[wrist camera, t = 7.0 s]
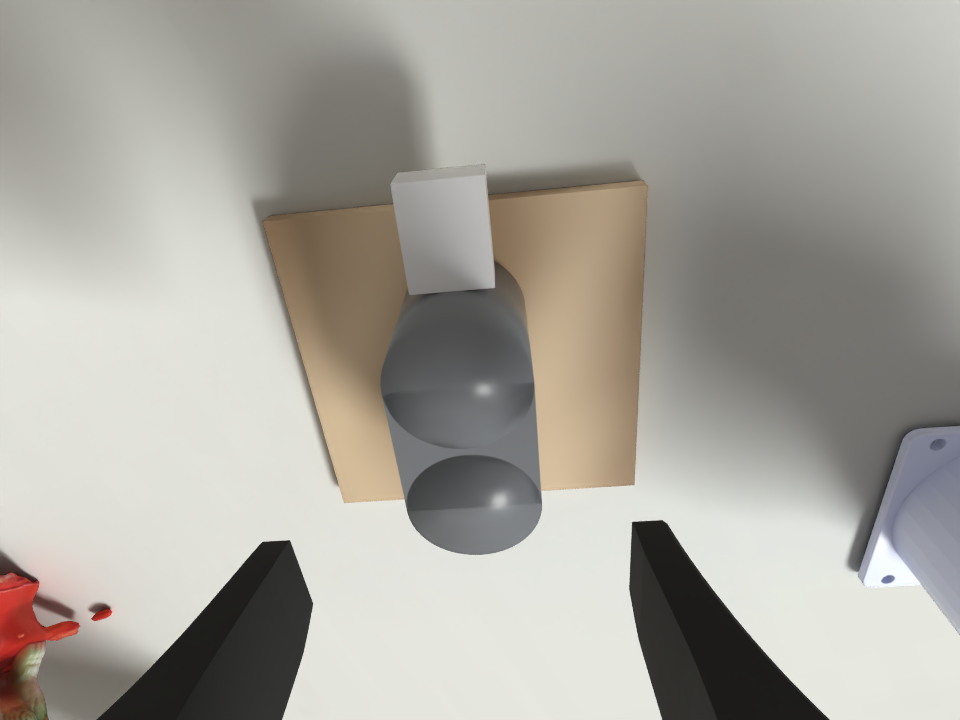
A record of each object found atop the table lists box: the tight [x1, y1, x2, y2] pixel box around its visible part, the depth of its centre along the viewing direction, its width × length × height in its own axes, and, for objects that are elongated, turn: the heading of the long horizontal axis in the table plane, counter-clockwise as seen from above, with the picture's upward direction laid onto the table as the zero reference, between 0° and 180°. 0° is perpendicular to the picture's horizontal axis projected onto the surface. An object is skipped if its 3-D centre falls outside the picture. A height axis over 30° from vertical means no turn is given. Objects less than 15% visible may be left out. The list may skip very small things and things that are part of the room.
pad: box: [263, 180, 648, 503], centre depth 19 cm, size 11×11×1 cm
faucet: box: [380, 164, 542, 555], centre depth 17 cm, size 11×4×4 cm, turn 6°
